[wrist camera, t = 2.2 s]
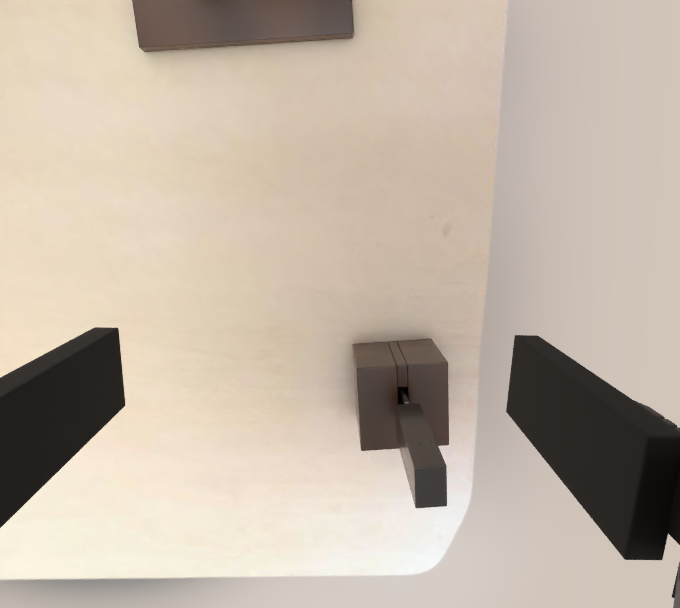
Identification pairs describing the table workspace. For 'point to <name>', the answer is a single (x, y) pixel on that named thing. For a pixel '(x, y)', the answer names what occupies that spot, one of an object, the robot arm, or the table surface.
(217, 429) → the table surface
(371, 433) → the knife block
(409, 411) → the butter knife
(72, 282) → the table surface
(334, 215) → the table surface
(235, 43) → the butter board
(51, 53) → the table surface
